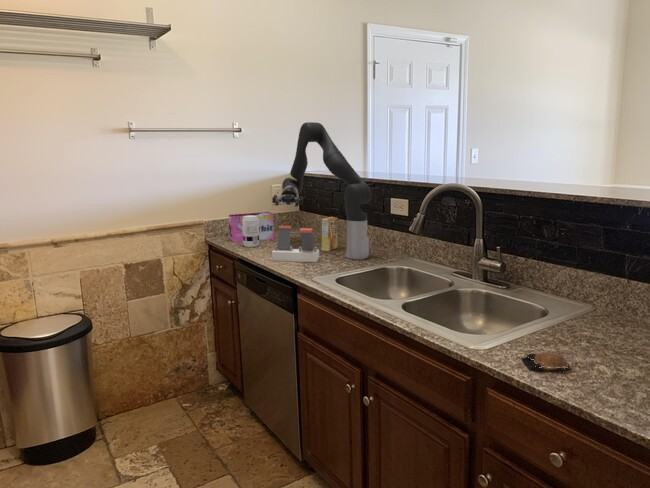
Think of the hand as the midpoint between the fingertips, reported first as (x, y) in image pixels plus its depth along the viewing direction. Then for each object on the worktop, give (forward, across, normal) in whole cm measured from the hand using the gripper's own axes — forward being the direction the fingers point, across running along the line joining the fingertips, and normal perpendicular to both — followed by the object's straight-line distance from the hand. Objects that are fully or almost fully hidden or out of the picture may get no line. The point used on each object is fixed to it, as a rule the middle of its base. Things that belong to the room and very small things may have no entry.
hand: (286, 204), depth 225 cm
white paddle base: (+12, +6, +22) cm, 26 cm away
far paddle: (+11, 0, +17) cm, 21 cm away
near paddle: (+12, +11, +16) cm, 23 cm away
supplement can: (-16, -19, +28) cm, 37 cm away
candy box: (-9, +21, +24) cm, 33 cm away
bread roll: (+115, +73, +2) cm, 136 cm away
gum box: (-33, -21, +31) cm, 49 cm away
